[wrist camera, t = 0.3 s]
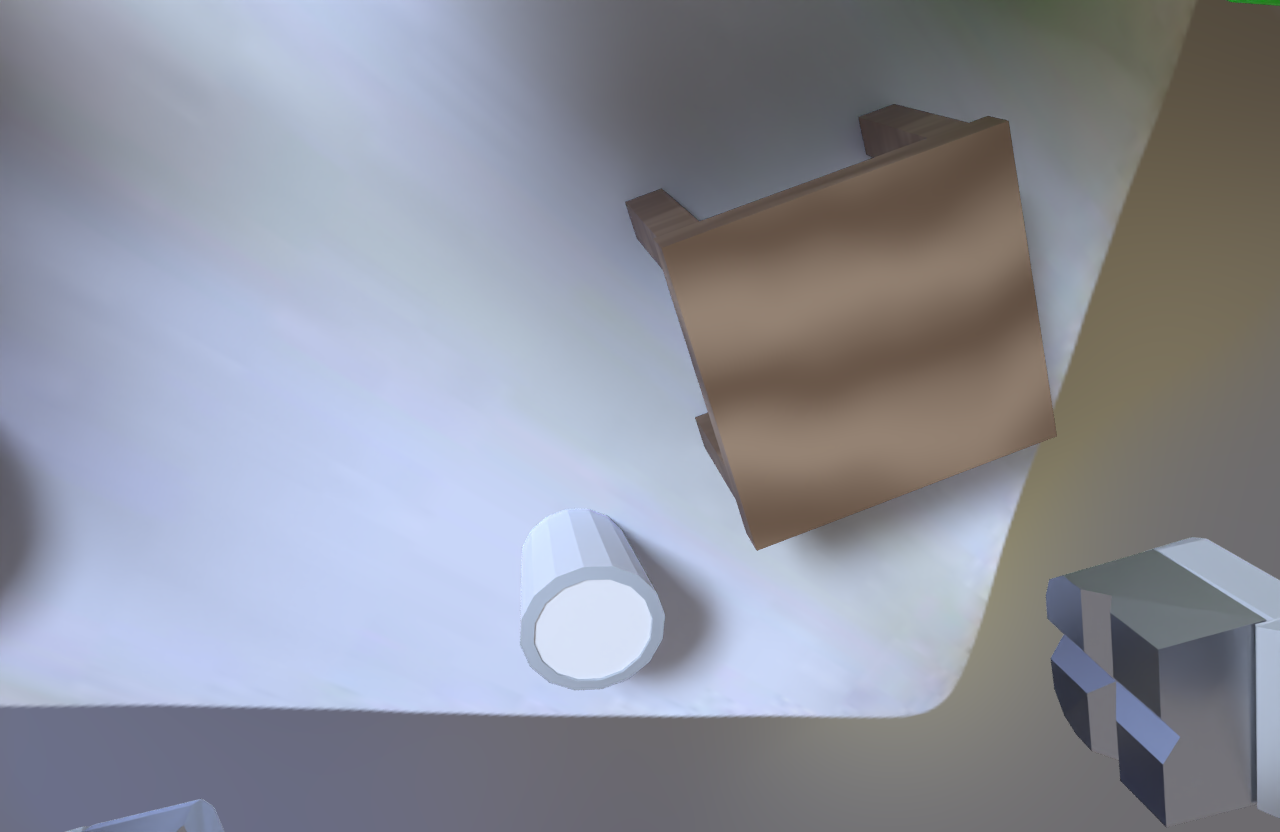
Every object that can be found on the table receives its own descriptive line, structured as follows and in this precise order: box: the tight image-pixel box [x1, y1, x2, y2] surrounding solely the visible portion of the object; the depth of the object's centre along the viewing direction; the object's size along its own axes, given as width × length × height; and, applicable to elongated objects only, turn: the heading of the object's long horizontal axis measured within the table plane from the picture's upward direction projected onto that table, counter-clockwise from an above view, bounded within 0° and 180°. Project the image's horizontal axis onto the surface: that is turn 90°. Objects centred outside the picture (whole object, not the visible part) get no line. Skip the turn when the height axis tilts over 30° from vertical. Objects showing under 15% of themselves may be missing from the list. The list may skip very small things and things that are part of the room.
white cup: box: [520, 509, 665, 690], centre depth 51 cm, size 7×7×7 cm
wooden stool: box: [625, 104, 1057, 550], centre depth 46 cm, size 14×14×10 cm
